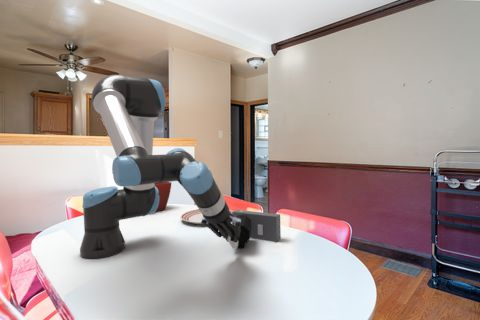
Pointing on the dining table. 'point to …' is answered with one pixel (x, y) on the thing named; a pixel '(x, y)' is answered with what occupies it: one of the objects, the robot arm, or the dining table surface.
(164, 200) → the plant pot
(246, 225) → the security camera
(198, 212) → the dinner plate
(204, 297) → the dining table surface
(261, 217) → the charging block
